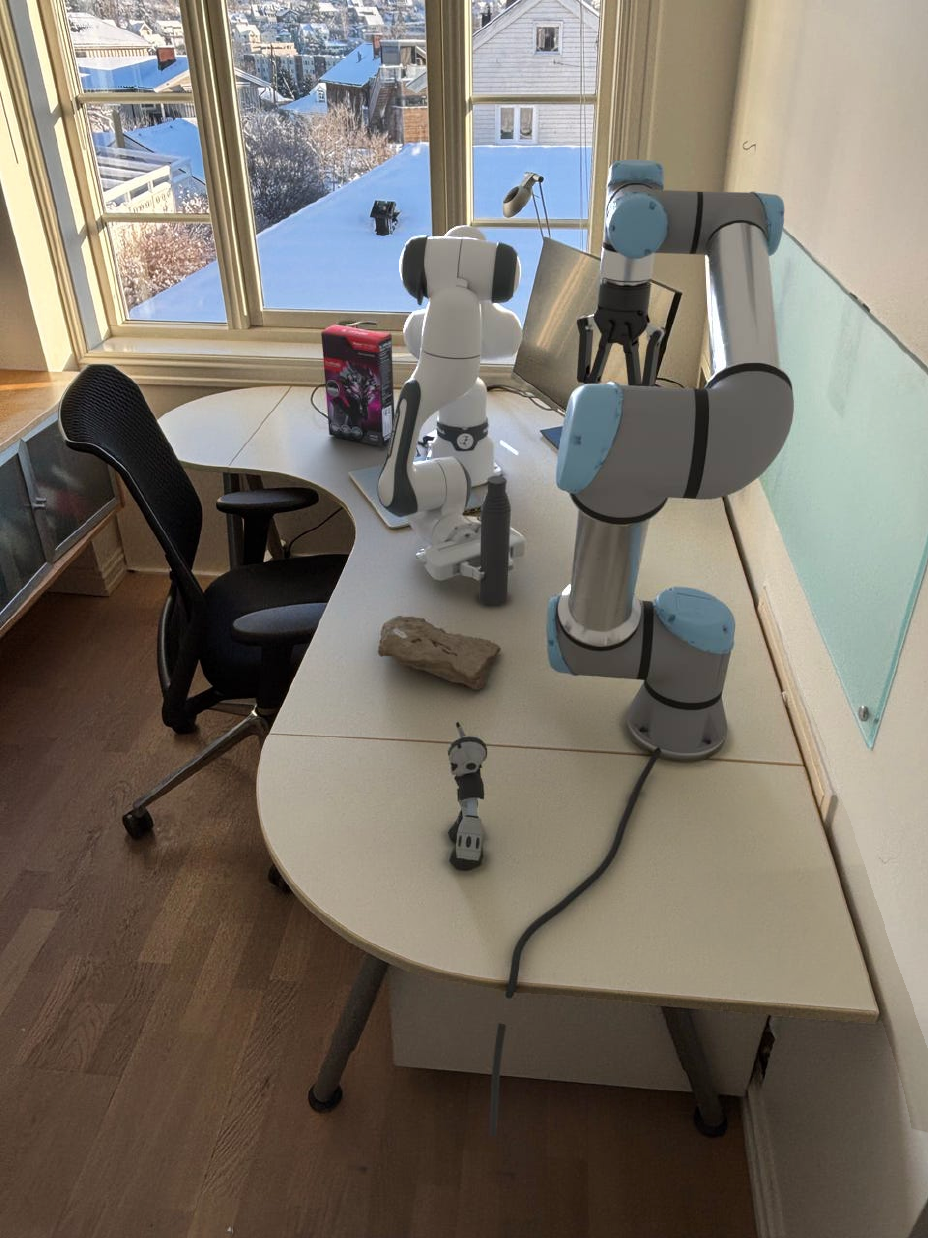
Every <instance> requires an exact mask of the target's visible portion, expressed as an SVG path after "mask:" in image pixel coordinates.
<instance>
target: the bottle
mask: <svg viewBox="0 0 928 1238" xmlns="http://www.w3.org/2000/svg"><path fill="white" fill-rule="evenodd" d="M487 480H488V481H487V482H486V484H487V488H486V489H487V491H486V492H485V495H484V498H483V501H482V503H481V508H480V517H481V550H480V567H481V568H482V569H483V570H484V571H485V575H484V576H485V578H484V579H481V580H479V603H481V604H482V605H484V606H487V607H491V608H494V607H495V608H496V607H500V606H504V605H505V604H506V603H507V602H508V588H509V571H508V567H509V542H510V527H511V516H512V515H511V514H512V505H511V502H510V499H509V496H508V492H507V478H506V477H504V476H501V475H499V476H491V477H489V478H488V479H487Z"/></svg>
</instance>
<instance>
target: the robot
mask: <svg viewBox="0 0 928 1238" xmlns="http://www.w3.org/2000/svg"><path fill="white" fill-rule="evenodd" d="M455 726H456V730H457V733H458V735H459V737H458V738H456V739H455V740H453V742H452V743H450V745H449V747H448V748H447V756H448V757H447V758H448V761H449V762H450V773H451V775H452V776H453V777H454V778H453V779H454V781H455V783H456V785H457V787H458V788H456V795H457V796H456V797H457V803H458V804H459V806H460V811H459V813H458V816H457V818H456V820H455V821H454V823H453V824H452V826H451V827H450V828H449V830H448V832H447V834H448V837H449V839H450V842H452V843H454V844H455V845H454V847H453V849H452V852H451V854H450V858H449V863H450V864H451V865H452V866H453V867H454V868H455V869H457V870H460V871H470V870H472V869H474V868H477V867H479V866H481V865H482V861H483V858H484V852H483V850H484V849H483V848H484V847H483V840H484V826H483V822H482V819H481V818H480V816H478V808H479V807H478V806H479V801H478V799H480V800H485V785H484V781H483V778H482V773H481V769H482V768H483V765H482V764H483V763H484V762H485V761H486V759H487V758H488V746H487V745H486V742H484V741H483V740H482V739H481V738H480V737H478V736H475V735H472V734H466V733H465V730H464V729H463V727H462V725H461V723H460V722H459V721H457V722H456V723H455Z"/></svg>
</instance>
